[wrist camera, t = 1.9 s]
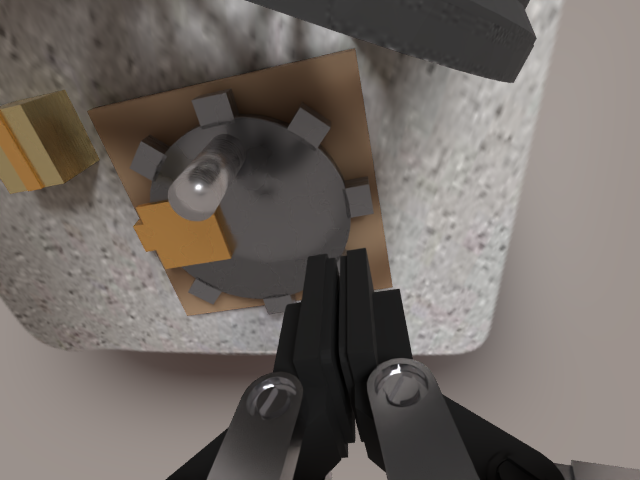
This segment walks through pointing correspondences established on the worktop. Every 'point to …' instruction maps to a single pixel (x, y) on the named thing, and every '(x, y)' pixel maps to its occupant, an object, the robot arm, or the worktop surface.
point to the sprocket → (246, 201)
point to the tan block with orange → (42, 143)
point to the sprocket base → (262, 99)
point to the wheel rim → (431, 29)
